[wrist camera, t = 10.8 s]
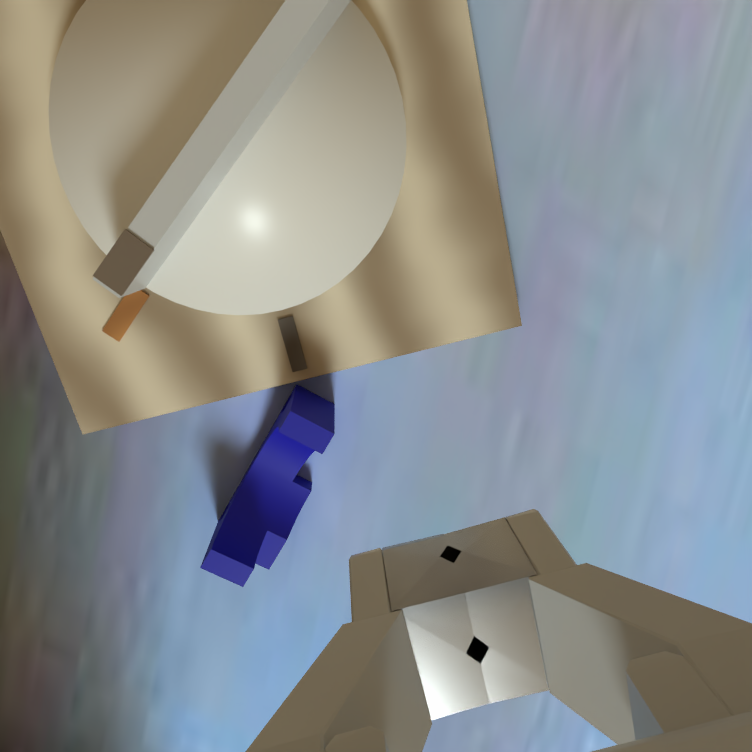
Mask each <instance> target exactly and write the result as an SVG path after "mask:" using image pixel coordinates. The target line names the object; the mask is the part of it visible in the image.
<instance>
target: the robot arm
mask: <svg viewBox="0 0 752 752" xmlns="http://www.w3.org/2000/svg"><path fill="white" fill-rule="evenodd" d="M349 571H350V592H351V613H352V622H351V623H347V624H343V625H342V626H341V628H340V629H339V630H338V632H337V633H336V634H335V635H334V637H333V638H332V639H331V641H330V642H329V643H328V645H327V646H326V647H325V649H324V650H323V651H322V652H321V654H320V655H319V656H318V658H317V659H316V660H315V662H314V663H313V664H312V666H311V667H310V668H309V669H308V671H307V672H306V673H305V675H304V676H303V677H302V679H301V680H300V681H299V683H298V684H297V685H296V686H295V688H294V689H293V690H292V692H291V693H290V694H289V696H288V697H287V698H286V700H285V701H284V702H283V703H282V705H281V706H280V707H279V709H278V710H277V711H276V713H275V714H274V715H273V717H272V718H271V719H270V720H269V722H268V723H267V724H266V726H265V727H264V728H263V730H262V731H261V732H260V734H259V735H258V736H257V737H256V739H255V740H254V741H253V743H252V744H251V745H250V747H249V748H248V749H247V751H246V752H422V750H423V747H424V744H425V742H426V739H427V736H428V733H429V731H430V728H431V725H432V722H431V720H433V719H437V718H440V717H444V716H447V715H451V714H454V713H458V712H461V711H465V710H468V709H472V708H475V707H479V706H482V705H486V704H489V702H490V703H494V702H498V701H503V700H507V699H512V698H516V697H521V696H525V695H530V694H534V693H539V692H543V691H548V690H550V693H551V694H552V695H553V696H555V697H556V698H557V699H559V700H560V701H561V702H563V703H564V704H565V705H567V706H568V707H569V708H570V709H572V710H573V711H574V712H576V713H577V714H578V715H580V716H581V717H582V718H584V719H585V720H586V721H588V722H589V723H590V724H591V725H593V726H594V727H595V728H597V729H598V730H599V731H601V732H602V733H603V734H605V735H606V736H607V737H609V738H610V739H611V740H613V741H614V742H615V743H616V744H618V745H615V746H612V747H608V748H604V749H600V750H596V751H592V752H752V623H749V622H746V621H743V620H741V619H738V618H735V617H733V616H730V615H727V614H724V613H722V612H719V611H716V610H713V609H711V608H708V607H705V606H702V605H700V604H697V603H694V602H692V601H689V600H686V599H683V598H681V597H678V596H675V595H672V594H670V593H667V592H664V591H661V590H659V589H656V588H653V587H651V586H648V585H645V584H642V583H640V582H637V581H634V580H631V579H629V578H626V577H623V576H620V575H618V574H615V573H612V572H610V571H607V570H604V569H601V568H599V567H596V566H593V565H590V564H588V563H585V564H581V565H577V564H576V563H575V562H574V560H573V559H572V557H571V556H570V555H569V553H568V552H567V550H566V549H565V548H564V546H563V545H562V544H561V542H560V541H559V539H558V538H557V537H556V535H555V534H554V532H553V531H552V530H551V528H550V527H549V525H548V524H547V523H546V521H545V520H544V518H543V517H542V516H541V514H540V513H539V511H537V510H535V509H532V510H528V511H525V512H522V513H518V514H515V515H512V516H508V517H505V518H501V519H497V520H494V521H490V522H487V523H483V524H480V525H476V526H472V527H469V528H465V529H462V530H458V531H454V532H451V533H447V534H440V535H436V536H431V537H427V538H423V539H418V540H414V541H410V542H405V543H401V544H397V545H392V546H388V547H384V548H382V550H381V549H380V548H378V549H374V550H370V551H367V552H363V553H359V554H355V555H352V556H351V557H350V559H349Z"/></svg>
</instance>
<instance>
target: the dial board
mask: <svg viewBox="0 0 752 752" xmlns="http://www.w3.org/2000/svg"><path fill="white" fill-rule="evenodd" d="M85 1H86V0H0V230H1V233H2V235H3V238H4V240H5V243H6V245H7V247H8V250H9V252H10V255H11V257H12V260H13V262H14V265H15V267H16V270H17V272H18V275H19V277H20V280H21V282H22V285H23V287H24V290H25V292H26V295H27V297H28V300H29V302H30V305H31V307H32V310H33V312H34V314H35V317H36V319H37V322H38V324H39V327H40V329H41V332H42V334H43V337H44V339H45V342H46V344H47V347H48V349H49V352H50V354H51V357H52V359H53V362H54V364H55V367H56V369H57V372H58V374H59V376H60V379H61V381H62V384H63V386H64V389H65V391H66V394H67V396H68V399H69V401H70V404H71V406H72V409H73V411H74V414H75V416H76V419H77V421H78V424H79V426H80V429H81V431H82V434H86V433H90V432H94V431H98V430H102V429H106V428H111V427H115V426H119V425H123V424H127V423H131V422H135V421H139V420H143V419H147V418H151V417H155V416H159V415H163V414H167V413H171V412H175V411H179V410H183V409H187V408H191V407H195V406H199V405H203V404H207V403H211V402H215V401H219V400H223V399H228V398H232V397H236V396H240V395H244V394H248V393H252V392H256V391H260V390H264V389H268V388H272V387H276V386H280V385H284V384H288V383H292V382H296V381H300V380H304V379H308V378H312V377H316V376H320V375H324V374H328V373H332V372H336V371H340V370H345V369H349V368H353V367H357V366H361V365H365V364H369V363H373V362H377V361H381V360H385V359H389V358H393V357H397V356H401V355H405V354H409V353H413V352H417V351H421V350H425V349H429V348H433V347H437V346H441V345H445V344H449V343H453V342H458V341H462V340H466V339H470V338H474V337H478V336H482V335H486V334H490V333H494V332H498V331H502V330H506V329H510V328H514V327H518V326H522V324H521V318H520V312H519V306H518V300H517V295H516V289H515V283H514V277H513V271H512V265H511V259H510V253H509V247H508V241H507V236H506V230H505V224H504V218H503V212H502V206H501V200H500V194H499V188H498V182H497V176H496V171H495V165H494V159H493V153H492V147H491V141H490V135H489V129H488V123H487V117H486V111H485V106H484V100H483V94H482V88H481V82H480V76H479V70H478V64H477V58H476V52H475V47H474V41H473V35H472V29H471V23H470V17H469V11H468V5H467V0H352V1H353V2H354V4H355V5H356V6H357V7H358V8H359V9H360V11H361V12H362V13H363V15H364V16H365V17H366V19H367V20H368V21H369V23H370V24H371V26H372V27H373V28H374V30H375V32H376V34H377V36H378V37H379V39H380V41H381V43H382V44H383V46H384V48H385V50H386V52H387V54H388V57H389V59H390V62H391V64H392V67H393V69H394V72H395V74H396V77H397V81H398V85H399V88H400V92H401V96H402V100H403V107H404V114H405V120H406V157H405V168H404V174H403V178H402V183H401V187H400V192H399V195H398V198H397V201H396V204H395V206H394V209H393V212H392V215H391V217H390V219H389V221H388V223H387V225H386V227H385V229H384V231H383V233H382V235H381V236H380V238H379V239H378V240H377V242H376V243H375V245H374V246H373V248H372V249H371V251H370V252H369V253H368V255H367V256H366V257H365V258H364V259H363V260H362V261H361V262H360V264H359V265H358V266H357V267H356V268H355V269H354V270H353V271H352V272H351V273H349V274H348V275H347V276H346V277H345V278H344V279H342V280H341V281H340V282H339V283H338V284H336V285H335V286H333V287H332V288H330V289H328V290H327V291H325V292H324V293H322V294H321V295H319V296H317V297H315V298H313V299H310V300H308V301H306V302H304V303H302V304H299V305H296V306H293V307H290V308H287V309H284V310H280V311H275V312H270V313H264V314H255V315H227V314H216V313H211V312H206V311H201V310H196V309H193V308H190V307H187V306H184V305H181V304H178V303H175V302H173V301H171V300H169V299H167V298H164V297H162V296H160V295H158V294H156V293H154V292H152V291H151V290H149V289H148V288H145V289H142V290H140V291H137V292H134V293H132V294H129V295H126V296H124V297H121V298H118V297H117V296H115V295H114V294H113V293H111V292H110V291H108V290H107V289H106V288H104V287H103V286H101V285H100V284H99V283H97V282H96V281H94V280H93V277H94V276H93V274H94V273H95V271H96V270H97V268H98V267H99V266H100V264H101V263H102V261H103V260H104V258H105V257H106V254H105V253H104V252H103V251H102V250H101V249H100V248H99V247H98V246H97V244H96V243H95V242H94V240H93V239H92V238H91V236H90V235H89V234H88V233H87V231H86V230H85V229H84V227H83V225H82V224H81V222H80V220H79V219H78V217H77V215H76V214H75V212H74V210H73V208H72V207H71V204H70V202H69V200H68V198H67V195H66V193H65V191H64V189H63V186H62V184H61V181H60V178H59V174H58V171H57V168H56V165H55V161H54V157H53V151H52V145H51V140H50V131H49V112H48V109H49V96H50V84H51V79H52V74H53V70H54V65H55V60H56V57H57V55H58V52H59V49H60V46H61V44H62V41H63V38H64V35H65V34H66V32H67V30H68V28H69V26H70V24H71V22H72V20H73V19H74V17H75V15H76V13H77V12H78V10H79V9H80V8H81V6H82V5H83V4H84V2H85Z"/></svg>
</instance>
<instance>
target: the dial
mask: <svg viewBox="0 0 752 752" xmlns="http://www.w3.org/2000/svg"><path fill="white" fill-rule="evenodd" d="M48 112H49V131H50V140H51V145H52V151H53V157H54V161H55V165H56V168H57V171H58V174H59V178H60V181H61V184H62V186H63V189H64V191H65V193H66V195H67V198H68V200H69V202H70V204H71V207H72V208H73V210H74V212H75V214H76V215H77V217H78V219H79V220H80V222H81V224H82V225H83V227H84V229H85V230H86V231H87V233H88V234H89V235H90V236H91V238H92V239H93V240H94V242H95V243H96V244H97V246H98V247H99V248H100V249H101V250H102V251H103V252H104V253H105V254H106V257H105V258H104V260H103V261H102V263H101V264H100V266H99V267H98V268H97V270H96V271H95V273H94V274H93V276H94V277H93V280H94V281H96V282H97V283H99V284H100V285H101V286H103V287H104V288H106V289H107V290H108V291H110V292H111V293H113V294H114V295H115V296H117V297H118V298H121V297H124V296H126V295H129V294H132V293H134V292H137V291H140V290H142V289H145V288H148V289H149V290H151V291H152V292H154V293H156V294H158V295H160V296H162V297H164V298H167V299H169V300H171V301H173V302H175V303H178V304H181V305H184V306H187V307H190V308H193V309H196V310H201V311H206V312H211V313H216V314H227V315H255V314H264V313H270V312H275V311H280V310H284V309H287V308H290V307H293V306H296V305H299V304H302V303H304V302H306V301H308V300H310V299H313V298H315V297H317V296H319V295H321V294H322V293H324V292H325V291H327V290H328V289H330V288H332V287H333V286H335V285H336V284H338V283H339V282H340V281H341V280H342V279H344V278H345V277H346V276H347V275H348V274H349V273H351V272H352V271H353V270H354V269H355V268H356V267H357V266H358V265H359V264H360V262H361V261H362V260H363V259H364V258H365V257H366V256H367V255H368V253H369V252H370V251H371V249H372V248H373V246H374V245H375V243H376V242H377V240H378V239H379V238H380V236H381V235H382V233H383V231H384V229H385V227H386V225H387V223H388V221H389V219H390V217H391V215H392V212H393V209H394V206H395V204H396V201H397V198H398V195H399V192H400V187H401V183H402V178H403V174H404V168H405V157H406V120H405V114H404V107H403V100H402V96H401V92H400V88H399V85H398V81H397V77H396V74H395V72H394V69H393V67H392V64H391V62H390V59H389V57H388V54H387V52H386V50H385V48H384V46H383V44H382V43H381V41H380V39H379V37H378V36H377V34H376V32H375V30H374V28H373V27H372V26H371V24H370V23H369V21H368V20H367V19H366V17H365V16H364V15H363V13H362V12H361V11H360V9H359V8H358V7H357V6H356V5H355V4H354V2H353V1H352V0H86V1H85V2H84V4H83V5H82V6H81V8H80V9H79V10H78V12H77V13H76V15H75V17H74V19H73V20H72V22H71V24H70V26H69V28H68V30H67V32H66V34H65V35H64V38H63V41H62V44H61V46H60V49H59V52H58V55H57V57H56V60H55V65H54V70H53V74H52V79H51V84H50V96H49V109H48Z"/></svg>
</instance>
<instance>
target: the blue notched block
mask: <svg viewBox="0 0 752 752" xmlns="http://www.w3.org/2000/svg"><path fill="white" fill-rule="evenodd" d="M333 435H334V404H333V403H331V402H329V401H327V400H325V399H324V398H322V397H320V396H318V395H316V394H314V393H312V392H310V391H308V390H307V389H305V388H303V387H301V386H299V385H297V384H296V386H295V388H294V390H293V391H292V393H291V395H290V397H289V398H288V400H287V402H286V404H285V405H284V407H283V409H282V411H281V412H280V414H279V416H278V418H277V419H276V421H275V423H274V425H273V427H272V428H271V430H270V432H269V434H268V435H267V437H266V439H265V441H264V442H263V444H262V446H261V448H260V449H259V451H258V453H257V455H256V456H255V458H254V460H253V462H252V463H251V465H250V467H249V469H248V470H247V472H246V474H245V476H244V477H243V479H242V481H241V483H240V484H239V486H238V488H237V490H236V491H235V493H234V495H233V497H232V498H231V500H230V502H229V504H228V505H227V507H226V509H225V511H224V512H223V514H222V516H221V518H220V519H219V521H218V523H217V526H216V529H215V531H214V534H213V536H212V539H211V541H210V544H209V547H208V549H207V552H206V554H205V557H204V560H203V562H202V565H201V567H200V568H202V569H204V570H206V571H209V572H211V573H213V574H215V575H217V576H220V577H222V578H224V579H226V580H229V581H231V582H233V583H235V584H238V585H240V586H242V587H243V586H244V584H245V583H246V581H247V579H248V578H249V576H250V574H251V573H252V571H253V569H254V566H255V563H256V564H258V565H260V566H262V567H264V568H267V569H270V567H271V565H272V564H273V562H274V560H275V559H276V557H277V555H278V554H279V552H280V550H281V549H282V547H283V545H284V544H285V542H286V540H287V538H288V536H289V534H290V531H291V529H292V527H293V525H294V523H295V520H296V518H297V516H298V514H299V512H300V510H301V508H302V506H303V505H304V503H305V501H306V499H307V497H308V496H309V494H310V492H311V488H312V482H310V481H308V480H306V479H304V478H302V477H300V476H298V475H297V473H298V472H299V470H300V469H301V467H302V466H303V464H304V463H305V461H306V460H307V459H308V458H309V456H310V455H311V454H312V453H313V452H314V451H317V452H319V453H321V454H323V452H324V450H325V449H326V447H327V445H328V444H329V442H330V440H331V439H332V437H333Z"/></svg>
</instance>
